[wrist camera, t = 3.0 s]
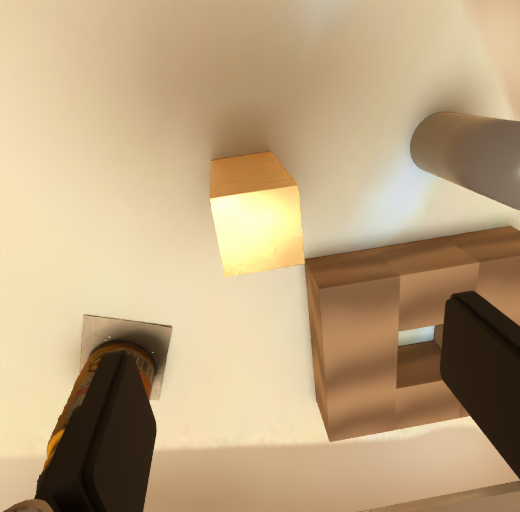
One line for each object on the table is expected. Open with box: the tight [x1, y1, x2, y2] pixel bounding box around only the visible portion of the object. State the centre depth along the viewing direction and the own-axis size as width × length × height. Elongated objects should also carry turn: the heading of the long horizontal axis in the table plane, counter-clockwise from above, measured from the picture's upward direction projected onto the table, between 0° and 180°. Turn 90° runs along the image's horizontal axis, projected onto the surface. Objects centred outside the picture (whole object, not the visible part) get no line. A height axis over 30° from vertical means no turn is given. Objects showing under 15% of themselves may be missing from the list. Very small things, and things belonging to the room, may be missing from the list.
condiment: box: [36, 315, 172, 493], centre depth 29 cm, size 7×8×12 cm
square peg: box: [210, 152, 305, 277], centre depth 24 cm, size 4×4×10 cm
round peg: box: [410, 112, 520, 210], centre depth 24 cm, size 4×4×10 cm
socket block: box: [305, 226, 520, 442], centre depth 33 cm, size 16×18×5 cm
